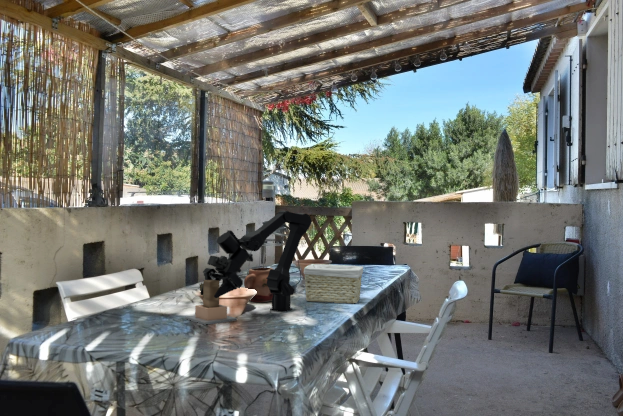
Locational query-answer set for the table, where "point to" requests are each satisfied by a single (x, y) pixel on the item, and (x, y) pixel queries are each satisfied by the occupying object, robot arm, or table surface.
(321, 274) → the storage basket
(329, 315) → the table surface
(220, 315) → the square socket holder
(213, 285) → the walnut wood block
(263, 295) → the decorative planter
